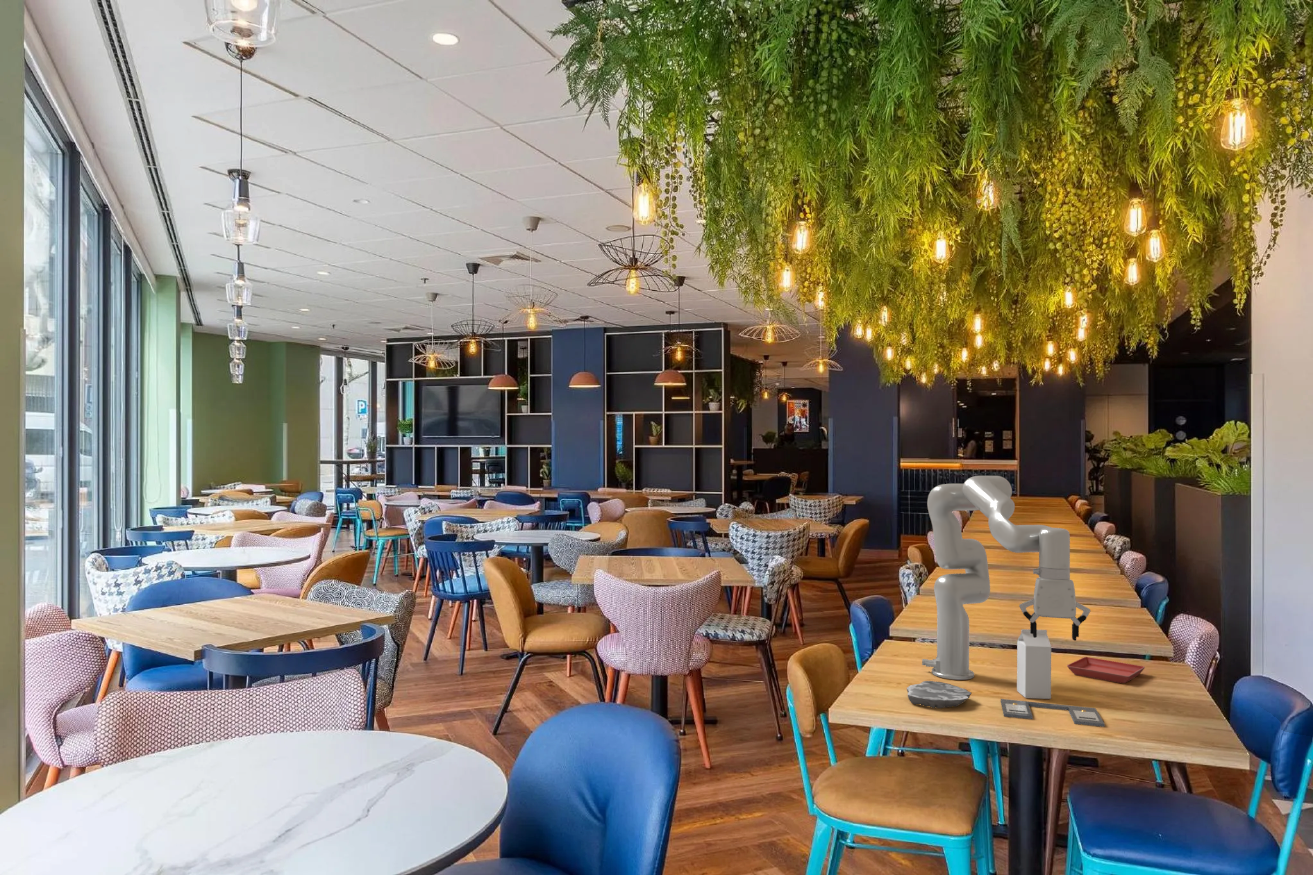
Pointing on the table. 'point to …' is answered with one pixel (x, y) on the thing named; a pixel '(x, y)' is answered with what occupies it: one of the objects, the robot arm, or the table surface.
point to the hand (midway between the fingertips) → (1054, 638)
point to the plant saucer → (1105, 669)
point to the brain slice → (937, 694)
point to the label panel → (1077, 713)
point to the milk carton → (1034, 665)
